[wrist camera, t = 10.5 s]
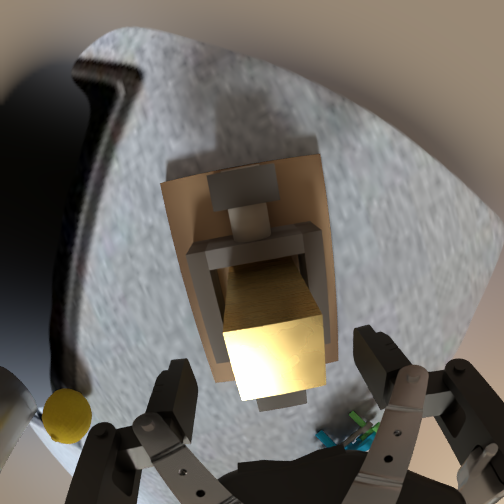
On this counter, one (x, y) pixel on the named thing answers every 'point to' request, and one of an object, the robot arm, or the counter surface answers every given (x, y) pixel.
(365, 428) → the blue-green animal figure
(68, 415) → the lemon
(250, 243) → the shaft rig
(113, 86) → the counter surface
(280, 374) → the block
